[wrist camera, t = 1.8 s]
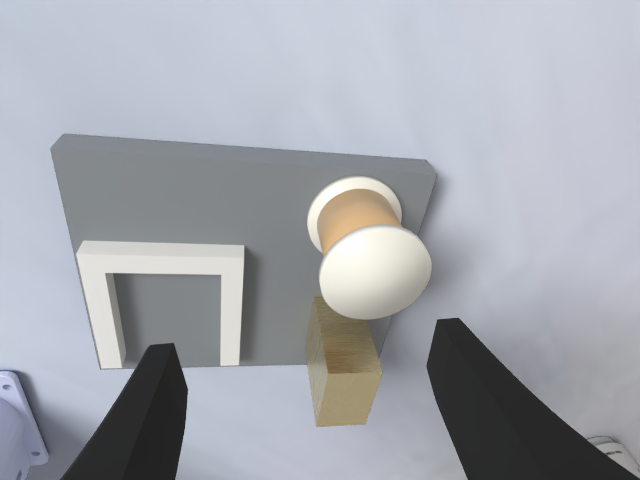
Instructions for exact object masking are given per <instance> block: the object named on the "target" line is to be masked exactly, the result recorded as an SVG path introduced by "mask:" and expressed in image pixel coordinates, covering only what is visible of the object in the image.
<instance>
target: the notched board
mask: <svg viewBox="0 0 640 480" xmlns="http://www.w3.org/2000/svg"><path fill="white" fill-rule="evenodd" d="M50 150H51V155H52V159H53V163H54V168H55V172H56V177H57V181H58V186H59V190H60V194H61V199H62V203H63V208H64V212H65V217H66V221H67V225H68V230H69V234H70V239H71V243H72V248H73V252H74V256H75V261H76V265H77V270H78V274H79V279H80V283H81V287H82V292H83V296H84V301H85V305H86V310H87V314H88V319H89V323H90V327H91V332H92V336H93V341H94V345H95V350H96V354H97V358H98V363H99V367H100V369H135V368H136V367H137V365H138V363H139V361H140V360H141V358H142V356H143V354H144V352H145V351H146V349H147V348H148V347H149V346H150V345H154V344H165V343H174V345H175V348H176V351H177V355H178V358H179V361H180V365H181V368H183V367H225V366H267V365H307V360H306V353H305V343H306V338H307V332H308V326H309V320H310V314H311V308H312V303H313V297H314V296H323V295H322V292H321V288H320V283H319V269H320V265H321V262H322V260H323V257H324V256H323V253H322V252H320V251H319V250H318V249H317V248H316V247H315V245H314V244H313V242H312V241H311V238H310V235H309V231H308V227H307V214H308V210H309V207H310V204H311V203H312V201H313V199H314V198H315V196H316V195H317V194H318V193H319V192H320V191H321V190H322V189H323V188H324V187H325V186H327V185H328V184H330V183H331V182H333V181H335V180H338V179H340V178H343V177H347V176H353V175H364V176H370V177H374V178H376V179H379V180H381V181H382V182H384V183H385V184H387V185H388V186H389V187H390V188H391V189H392V191H393V192H394V194H395V195H396V197H397V199H398V201H399V203H400V206H401V212H402V219H401V225H402V227H403V228H405V229H407V230H409V231H411V232H413V233H414V234H415V235H417V236H418V233H419V230H420V227H421V224H422V221H423V218H424V214H425V211H426V208H427V205H428V202H429V199H430V195H431V192H432V189H433V186H434V183H435V180H436V177H437V173H436V172H435V170H434V169H433V168H432V167H431V165H430V164H429V163H428V162H427V160H419V159H405V158H391V157H378V156H364V155H350V154H336V153H322V152H309V151H295V150H281V149H267V148H253V147H240V146H226V145H212V144H198V143H185V142H171V141H157V140H143V139H129V138H116V137H102V136H88V135H74V134H63V135H62V136H61V137H60V138H59V139H58V140H57V141H56V142H55V143H54V145H53V146H52V147H51V148H50ZM392 315H393V314H392ZM392 315H389V316H386V317H382V318H378V319H368V320H366V321H367V324H368V327H369V330H370V333H371V337H372V340H373V343H374V346H375V349H376V352H377V356H378V359H379V356H380V353H381V350H382V347H383V343H384V340H385V337H386V334H387V331H388V328H389V325H390V321H391V318H392Z"/></svg>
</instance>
